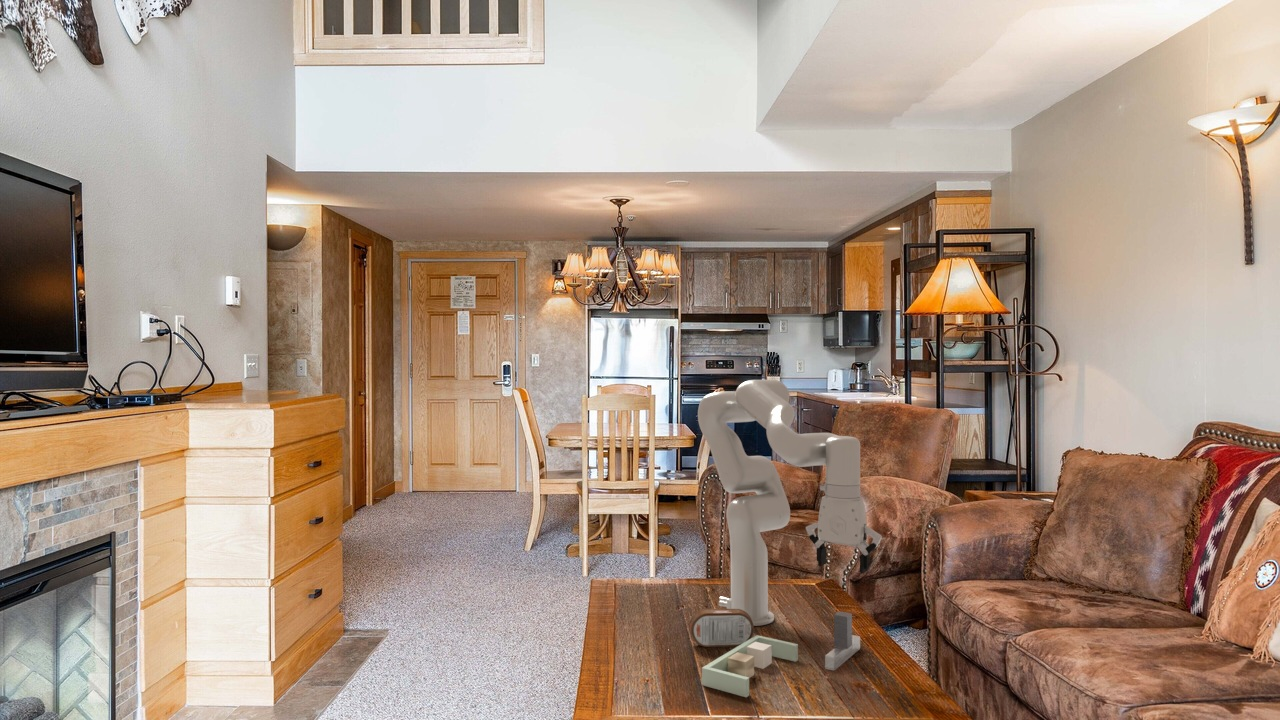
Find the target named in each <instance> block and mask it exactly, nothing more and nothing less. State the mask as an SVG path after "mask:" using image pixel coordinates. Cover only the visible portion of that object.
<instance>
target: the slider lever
mask: <svg viewBox="0 0 1280 720" xmlns="http://www.w3.org/2000/svg"><path fill="white" fill-rule="evenodd" d="M833 633H834V634H833V636H834V637H833V640H834V641H833V642H834V643H833V644H834V646H833V647H834V648H833V649H831V650H830V651H829V652H828V653H827V654H826V653H825V655H824V665H825V666H824V668H825V670H829V671H833V672H834V671H836V670H837V669H838V668H839V667H841V666H842V665H843V664H844V663H845V662H846V661H848V660H849V659H850V658H851V657H853V655H854V654H855V653H857V652H858V651H860V649H861V636H860V635H854V634H853V613H851V612H845V611H839V610H838V611H837V612H836V613H834V614H833Z"/></svg>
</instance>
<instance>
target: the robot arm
mask: <svg viewBox="0 0 1280 720" xmlns="http://www.w3.org/2000/svg"><path fill="white" fill-rule="evenodd" d="M790 397H791V396H790V392H789V389H788V387H787V386H786V385H785V384H784V383H783V382H781V381H780V380H777V379H749V380H746V381H744V382H742V383H741V384H739V385H738V386H737V388H736V390H733V391H732V390H731V391H729V390H728V391H726V390H725V391H715V392H711V393H710V392H709V393H708V394H706V395H705V396H703V398H702V399H701V401H700V402H699V405H698V409H697V420H698V425H699V429H700V430H701V433H702V436H703V437H704V440H705V441H706V443H707V445H708V446H709V450H710V453H711V456H712V459H713V462H714V465H715V467H716V471H717V475H718V476H719V480H720V483H721V485H722V487H723V489H724V490H725V492H727V493H729V494H745V493H754V492H755V494H751V495H744V496H739V497H736V498H735V499H733V500H732V501H730V502H729V504H728V505H727V507H726V512H725V513H726V522H727V526H728V527H727V529H728V532H729V542H730V543H729V545H730V547H729V548H730V550H729V551H730V598H729V597H726V596H719V599H718V606H719V607H725V609H741V610H743V611H745V612H747V613H748V614H749V616H750V617H751V619H752V622H753V625H754V627H759V626H761V627H762V626H767V625H769V624H771V623H773V622H774V619H775V614H774V613H773V612H772V611H770V610H769V594H768V593H769V576H768V575H769V569H768V566H769V564H768V563H769V561H768V559H769V558H768V557H769V556H768V555H769V554H768V548H767V545H766V542H765V541H764V539H763V537H762V535H761V533H763V532H768V531H774V530H775V531H776V530H779V529H780V530H781V529H783V528H785V527H786V526H787V525H788V523H789V522H790V519H791V509H790V504H789V501H788V498H787V494H786V492H785V489H784V487H783V484H782V480H781V478H780V475H779V473H778V470H777V468H776V466H775V465H774V463H773V462H772V461H771V459H769V458H768V457H765V456H763V455H747V453H746V452H745V449H744V447H743V443H742V441H741V439H740V437H739V436H738V434H737V433H736V432H735V431H734V430H733V429H732V428H730V426H729V425H728V423H749V422H755V421H756V422H757V423H758V424H759V425H760V426H762V427H763V428H764V429H765V430H766V438H767V441H768V444H769V446H770V448H771V449H772V451H774V452H775V454H776V455H778V456H779V457H780V458H781V459H782V460H784V461H785V462H786V463H788V464H789V465H791V466H794V467H797V468H804V467H805V468H806V467H814V466H825V483H824V484H823V483H822V484H820V485H819V490H820V491H823V492H824V496H822V497H821V499H820V505H819V512H818V519H817V520H818V521H817V522H814V523H813V522H812V524H809V525H806V526H805V530H806V533H807V535H808V536H809V540H810V541H811V542H812V544H813V545H814V547H815V549H816V562H817V564H818V565H817V566H819V567H822V566H824V565H826V564H827V545H826V544H827V543H829V544H836V545H843V546H848V547H849V546H850V547H857V548H858V549H859V550H860V552H861V554H860V555H859V572H860V573H861V574H865V573H867V572H868V570H869V569H870V566H871V565H870V564H871V563H870V562H871V557H870V556H871V553H872V552H873V551H874V550H876V549H877V548H878V546H879V544H880V543H881V541H882V539H883V536H882V534H880V533H879V532H877V531H875V530H874V529H872V528H871V527H870V526H868V522H867V521H868V520H867V514H866V506H865V503H864V502H865V501H864V498H861V442H860V439H859V438H858V437H855V436H849V435H837V434H835V433H831V432H811V433H810V432H808V433H806V432H805V433H798V432H796V431H794V430H793V429H791V428H790V426H792V423H793V422H794V419H795V409H794V407H793V406H792V405H791V404H790V403H789V402H790ZM816 529H817V533H816V532H815V530H816ZM868 536H869V537H871V538H872V541H871V543H870V544H869V543H868V542H867V539H868Z"/></svg>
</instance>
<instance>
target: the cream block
mask: <svg viewBox="0 0 1280 720" xmlns="http://www.w3.org/2000/svg"><path fill="white" fill-rule="evenodd" d="M747 655H751V656H754V668H756V669H757V668H758V669H762V670H765V668H767V667H768V666H770V665H771V664H773V663H772V660H773V659H772V657H773V656H772V645H768V644H764V643H759V642H754V643H752V644H750V645H749V646H747Z"/></svg>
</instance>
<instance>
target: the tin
mask: <svg viewBox="0 0 1280 720" xmlns="http://www.w3.org/2000/svg"><path fill="white" fill-rule="evenodd" d="M688 628H689V633H690V635H691V637H692V639H693V641H694V642H695V643H696V644H697V645H698V646H701V647H704V648H727V647H728V648H731V647H733V648H736V647H737V646H739V645H741V644H743V643H744V642H746V641H748V640H749V639H751V638H753V637H754V636H753V635H754V633H755V626H754V625H753V622H752V619H751V617H750V616H749V614H748V613H747V612H745V611H743V610H741V609H727V608H703V609H700V610H698V611H697V612H695V613H694V614H693V616H692V617H691V618H690V620H689V627H688Z"/></svg>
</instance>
